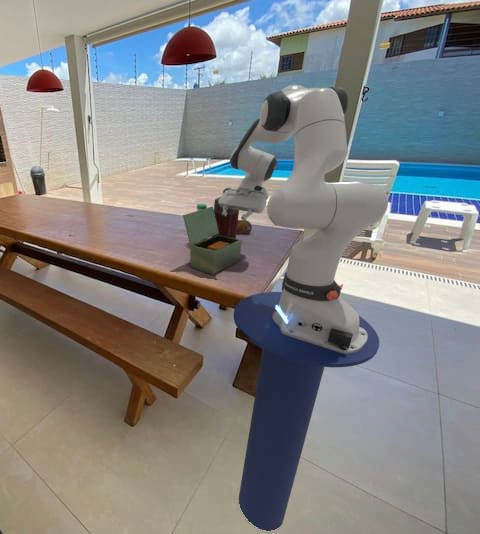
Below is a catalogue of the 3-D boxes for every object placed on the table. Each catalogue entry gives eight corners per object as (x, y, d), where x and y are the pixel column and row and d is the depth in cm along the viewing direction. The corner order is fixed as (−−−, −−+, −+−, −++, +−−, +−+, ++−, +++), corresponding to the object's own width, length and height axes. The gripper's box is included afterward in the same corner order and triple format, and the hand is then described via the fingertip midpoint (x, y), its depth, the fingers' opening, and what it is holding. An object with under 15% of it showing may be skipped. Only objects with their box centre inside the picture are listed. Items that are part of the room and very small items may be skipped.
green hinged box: (239, 261, 134) (241, 240, 131) (212, 274, 123) (214, 251, 120) (216, 254, 143) (218, 234, 139) (189, 266, 132) (190, 245, 128)
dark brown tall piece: (237, 241, 157) (244, 186, 145) (227, 248, 149) (233, 190, 137) (221, 238, 162) (226, 184, 150) (210, 244, 155) (215, 188, 143)
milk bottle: (189, 243, 159) (190, 205, 151) (197, 239, 164) (199, 202, 155) (202, 246, 154) (204, 207, 146) (210, 242, 159) (213, 204, 150)
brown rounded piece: (221, 234, 169) (222, 220, 166) (221, 232, 172) (222, 218, 168) (250, 236, 165) (252, 221, 161) (250, 234, 167) (252, 219, 164)
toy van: (228, 260, 133) (230, 243, 130) (217, 267, 128) (218, 249, 125) (218, 257, 137) (219, 241, 134) (206, 263, 132) (207, 246, 129)
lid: (212, 206, 137) (211, 206, 138) (184, 214, 126) (182, 215, 127) (219, 233, 138) (217, 233, 139) (191, 244, 127) (189, 244, 128)
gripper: (224, 184, 139) (210, 209, 138) (268, 188, 124) (253, 216, 123) (229, 192, 144) (215, 217, 142) (272, 197, 129) (257, 225, 127)
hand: (233, 217), depth 132 cm, fingers open, 8 cm apart
